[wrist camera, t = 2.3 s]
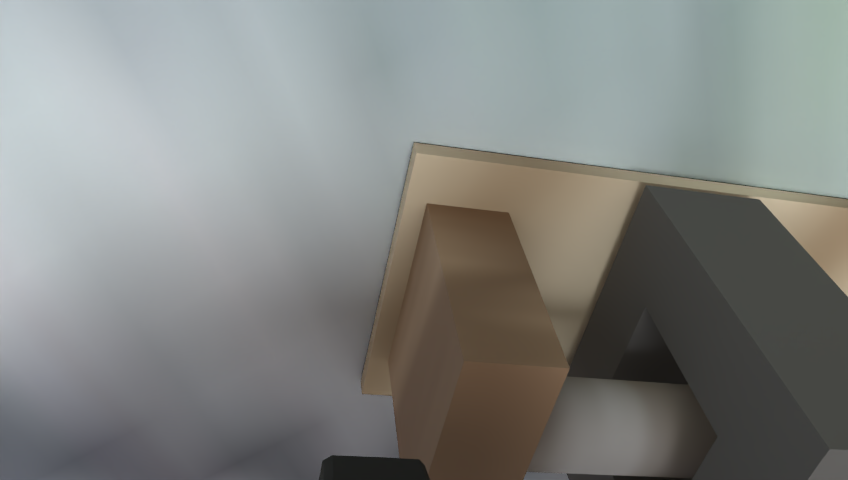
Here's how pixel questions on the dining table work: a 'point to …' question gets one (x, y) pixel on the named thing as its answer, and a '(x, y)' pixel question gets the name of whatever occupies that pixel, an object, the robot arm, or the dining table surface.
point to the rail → (535, 318)
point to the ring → (728, 334)
